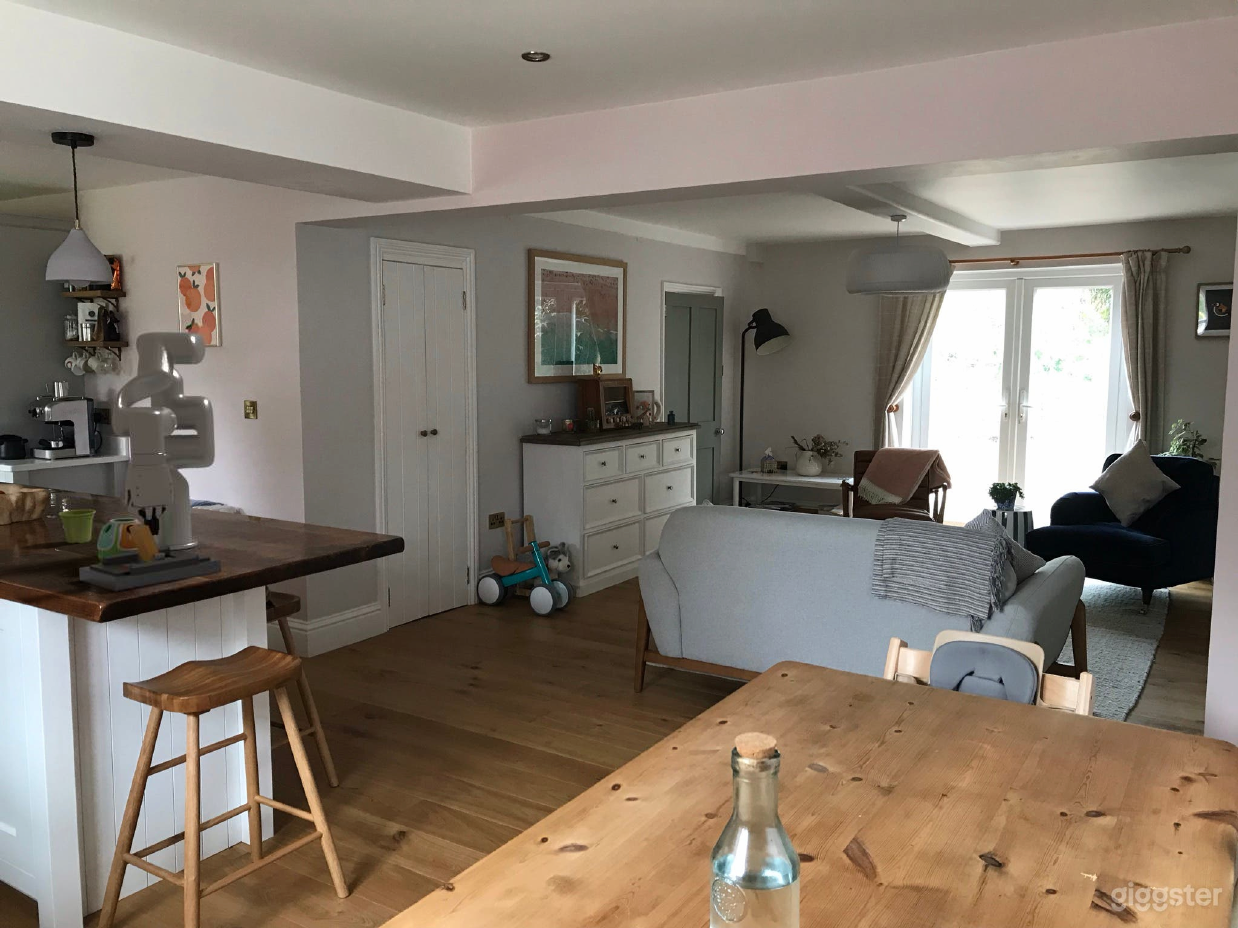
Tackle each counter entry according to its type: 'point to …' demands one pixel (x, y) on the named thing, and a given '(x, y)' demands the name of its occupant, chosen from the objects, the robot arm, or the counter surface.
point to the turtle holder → (116, 537)
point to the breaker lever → (144, 542)
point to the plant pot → (77, 525)
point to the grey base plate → (121, 579)
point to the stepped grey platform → (151, 566)
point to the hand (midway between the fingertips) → (152, 534)
